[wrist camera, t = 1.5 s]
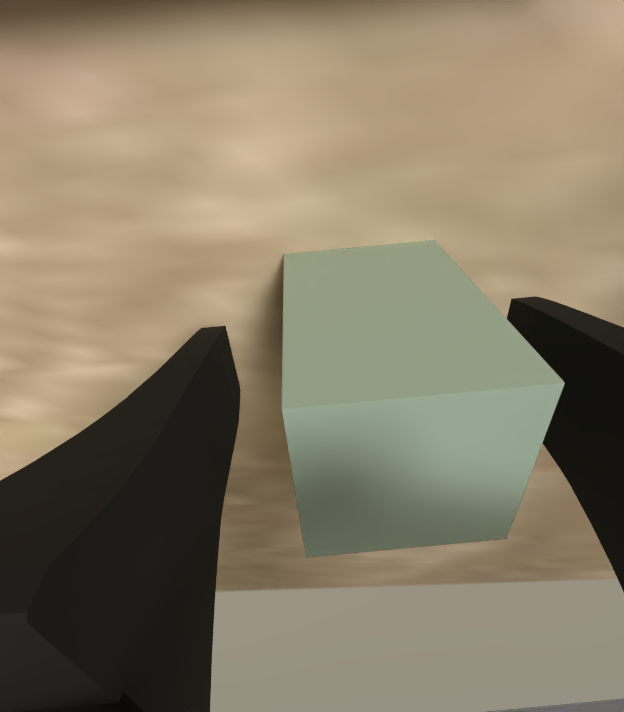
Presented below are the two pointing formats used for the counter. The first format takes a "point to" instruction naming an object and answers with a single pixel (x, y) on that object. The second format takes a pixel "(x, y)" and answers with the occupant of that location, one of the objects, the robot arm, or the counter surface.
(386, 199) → the counter surface
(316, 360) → the block
